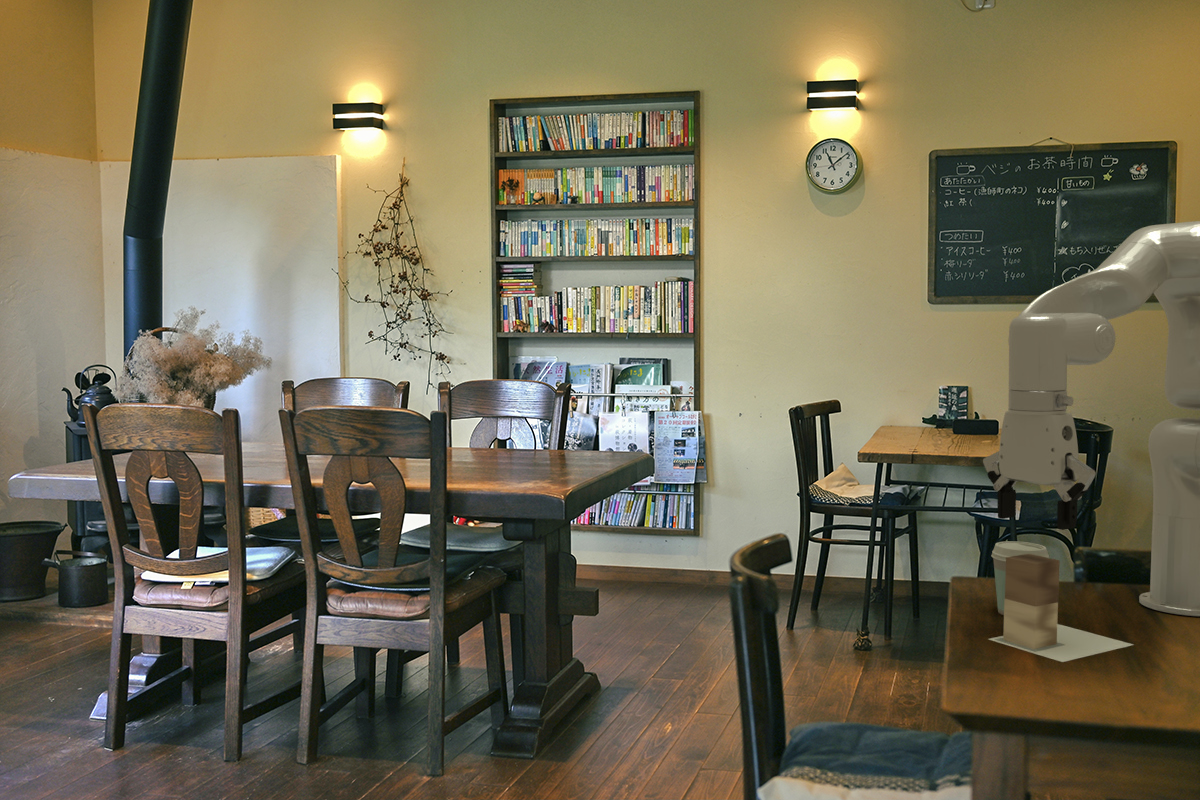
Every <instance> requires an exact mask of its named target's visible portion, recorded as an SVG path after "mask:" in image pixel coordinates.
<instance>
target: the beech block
mask: <svg viewBox="0 0 1200 800" xmlns="http://www.w3.org/2000/svg"><path fill="white" fill-rule="evenodd" d="M1058 608H1059V601H1058V602H1057V603H1052V604H1047V605H1042V606H1037V607H1035V606H1031V605H1027V604H1023V603H1019V602H1015V601H1012V600H1008V599H1004V615H1003V635H1002V636H1003V640H1005V641H1008V642H1012V643H1015V644H1018V645H1021V646H1025V647H1028V648H1031V649H1037V648H1041V647H1046V646H1050V645H1055V644H1057V624H1058V616H1059V614H1058V613H1059V612H1058V611H1059V610H1058Z"/></svg>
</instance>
